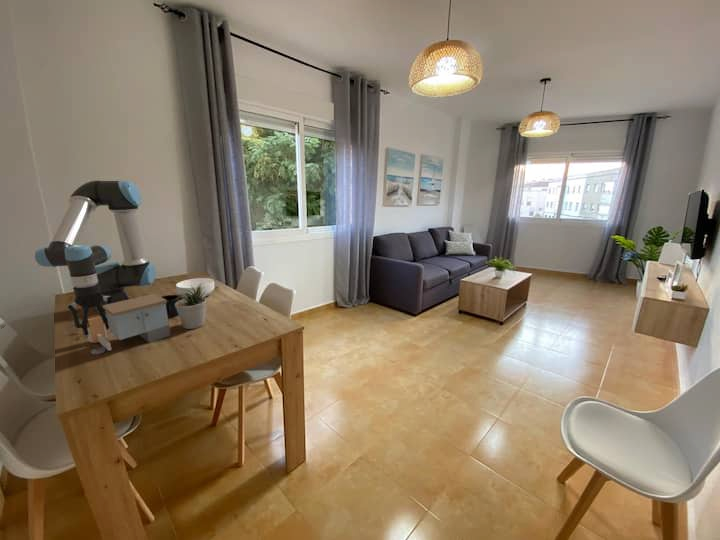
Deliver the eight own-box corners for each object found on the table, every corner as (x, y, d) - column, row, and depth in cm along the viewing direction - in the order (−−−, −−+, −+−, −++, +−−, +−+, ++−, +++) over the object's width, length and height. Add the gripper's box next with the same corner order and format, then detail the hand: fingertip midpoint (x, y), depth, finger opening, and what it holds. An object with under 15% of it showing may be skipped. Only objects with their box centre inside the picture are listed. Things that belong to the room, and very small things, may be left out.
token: (103, 354, 112) (102, 351, 112) (89, 356, 111) (88, 353, 110) (108, 348, 116) (108, 346, 116) (95, 350, 115) (94, 347, 114)
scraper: (91, 340, 121) (85, 317, 118) (103, 336, 124) (98, 314, 122) (103, 352, 112) (97, 328, 109) (116, 348, 115) (111, 324, 113)
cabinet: (110, 342, 120) (102, 305, 116) (160, 327, 134) (154, 293, 130) (121, 353, 112) (113, 313, 108) (173, 335, 127) (167, 300, 122)
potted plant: (189, 334, 128) (182, 290, 123) (172, 327, 135) (166, 285, 130) (216, 324, 138) (211, 283, 133) (199, 317, 145) (194, 278, 140)
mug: (160, 322, 140) (157, 304, 137) (158, 314, 149) (155, 297, 146) (183, 317, 145) (180, 300, 143) (179, 310, 154) (177, 293, 152)
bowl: (222, 294, 178) (220, 281, 176) (189, 304, 162) (187, 290, 160) (203, 289, 188) (202, 276, 186) (171, 297, 172) (169, 284, 170)
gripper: (57, 292, 107) (72, 350, 113) (116, 281, 120) (127, 334, 126) (53, 288, 111) (68, 344, 117) (110, 278, 124) (121, 329, 130)
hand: (98, 339), depth 121 cm, fingers closed on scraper, 4 cm apart
